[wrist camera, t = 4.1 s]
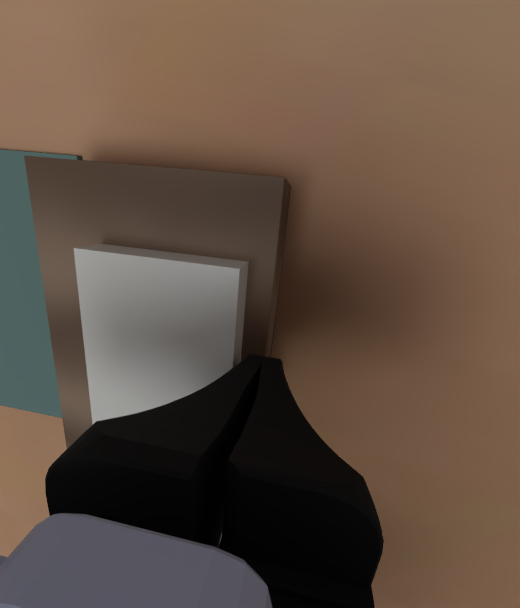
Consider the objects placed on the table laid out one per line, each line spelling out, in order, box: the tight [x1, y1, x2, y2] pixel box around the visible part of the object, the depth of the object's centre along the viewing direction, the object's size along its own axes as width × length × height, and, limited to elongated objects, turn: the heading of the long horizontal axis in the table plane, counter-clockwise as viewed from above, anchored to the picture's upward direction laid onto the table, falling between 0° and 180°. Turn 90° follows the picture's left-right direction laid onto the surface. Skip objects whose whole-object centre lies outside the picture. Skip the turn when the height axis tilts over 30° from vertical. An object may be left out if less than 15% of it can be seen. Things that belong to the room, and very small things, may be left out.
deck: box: [24, 155, 291, 449], centre depth 14 cm, size 15×10×4 cm, turn 175°
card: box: [74, 244, 249, 424], centre depth 12 cm, size 9×6×2 cm, turn 175°
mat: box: [0, 150, 81, 418], centre depth 17 cm, size 16×10×1 cm, turn 175°
